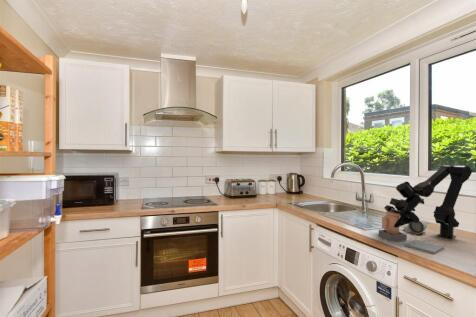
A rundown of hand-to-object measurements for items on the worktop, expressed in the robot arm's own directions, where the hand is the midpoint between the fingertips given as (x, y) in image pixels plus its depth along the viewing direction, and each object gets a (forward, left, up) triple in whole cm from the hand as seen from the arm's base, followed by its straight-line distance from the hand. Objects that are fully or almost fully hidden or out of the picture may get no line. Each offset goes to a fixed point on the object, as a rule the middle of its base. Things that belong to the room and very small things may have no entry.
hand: (390, 225), depth 136 cm
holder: (-1, +1, -7) cm, 7 cm away
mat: (+1, +16, -7) cm, 17 cm away
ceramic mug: (-24, +2, -7) cm, 25 cm away
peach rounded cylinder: (-1, +1, -7) cm, 7 cm away
